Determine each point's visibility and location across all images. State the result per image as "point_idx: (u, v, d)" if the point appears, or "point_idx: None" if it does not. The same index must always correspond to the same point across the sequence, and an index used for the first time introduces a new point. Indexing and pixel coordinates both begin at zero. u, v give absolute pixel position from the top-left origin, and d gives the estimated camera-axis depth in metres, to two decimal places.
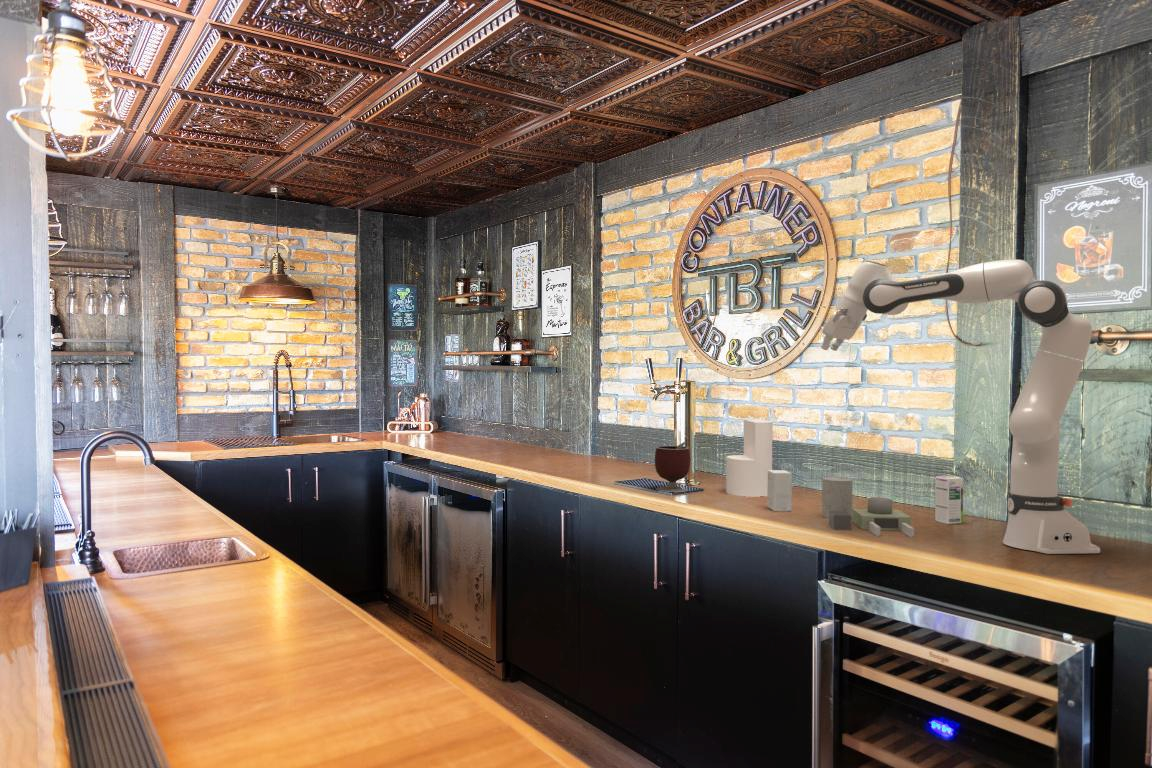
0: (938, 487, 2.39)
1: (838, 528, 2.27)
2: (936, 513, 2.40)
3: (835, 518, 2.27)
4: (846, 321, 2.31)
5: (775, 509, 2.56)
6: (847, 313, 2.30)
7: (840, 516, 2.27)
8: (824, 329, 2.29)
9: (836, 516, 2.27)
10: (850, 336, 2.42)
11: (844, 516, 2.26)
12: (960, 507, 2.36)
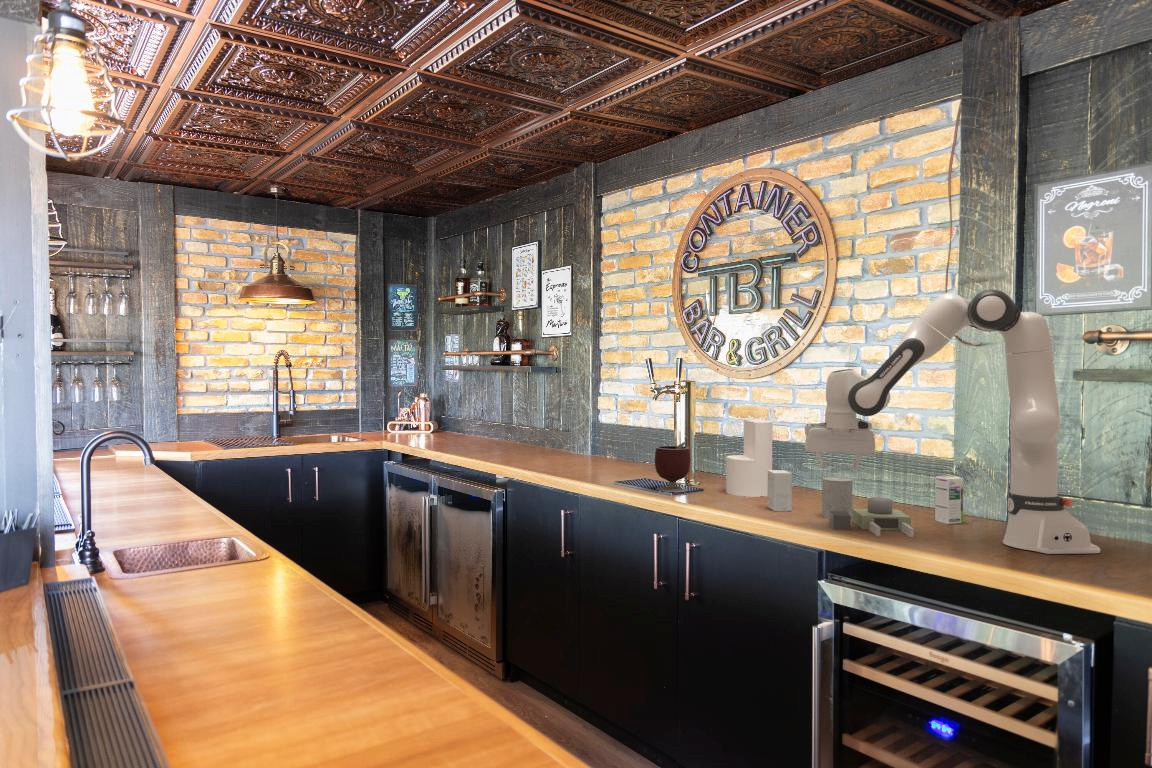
0: (938, 487, 2.39)
1: (838, 528, 2.27)
2: (936, 513, 2.40)
3: (835, 518, 2.27)
4: (827, 433, 2.28)
5: (775, 509, 2.56)
6: (826, 425, 2.29)
7: (840, 516, 2.27)
8: (805, 446, 2.32)
9: (836, 516, 2.27)
10: (867, 449, 2.27)
11: (844, 516, 2.26)
12: (960, 507, 2.36)
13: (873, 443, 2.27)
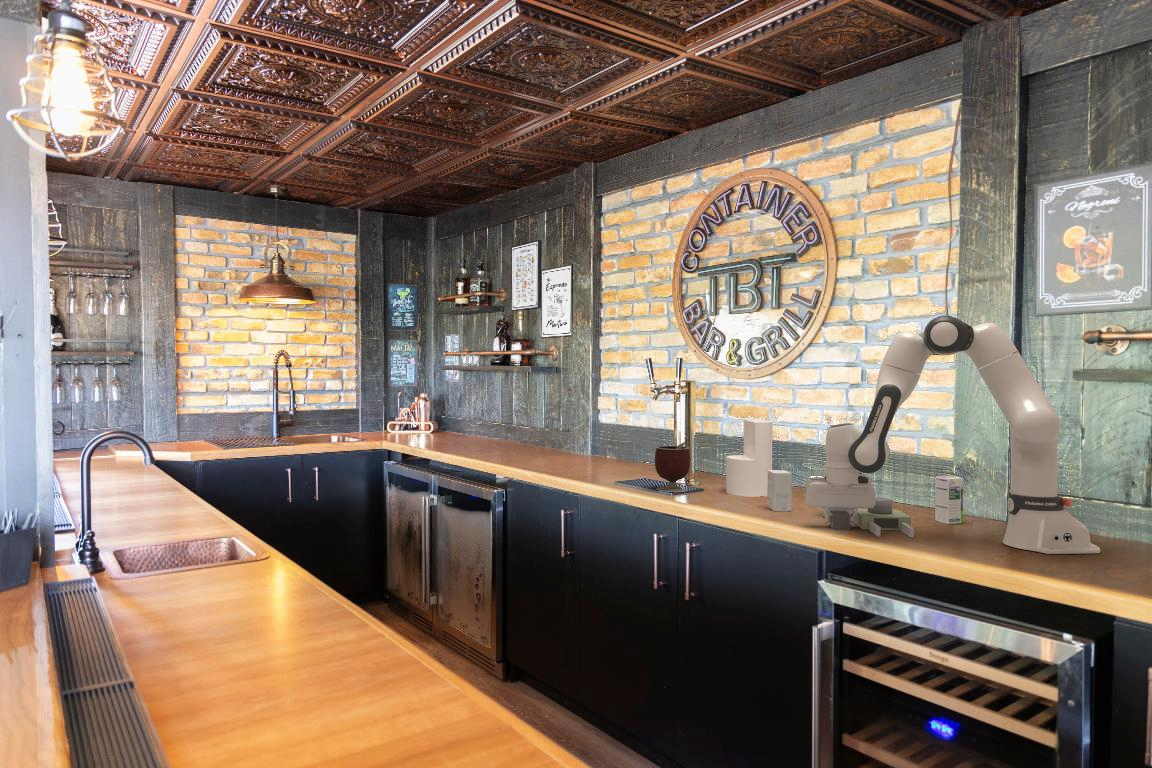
0: (938, 487, 2.39)
1: (837, 527, 2.27)
2: (936, 513, 2.40)
3: (834, 517, 2.27)
4: (827, 487, 2.29)
5: (775, 509, 2.56)
6: (826, 479, 2.29)
7: (839, 515, 2.27)
8: (805, 500, 2.32)
9: (835, 515, 2.27)
10: (868, 504, 2.27)
11: (843, 515, 2.26)
12: (960, 507, 2.36)
13: (873, 497, 2.27)
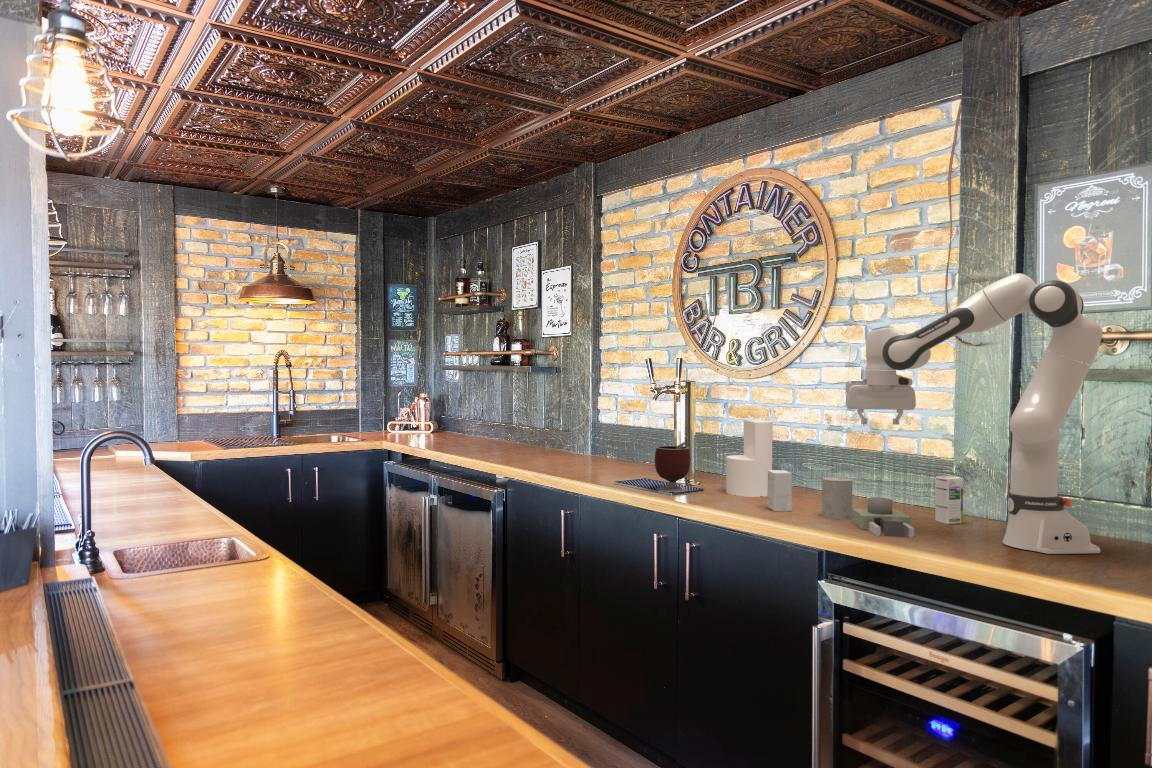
0: (938, 487, 2.39)
1: (889, 534, 2.18)
2: (936, 513, 2.40)
3: (886, 524, 2.18)
4: (868, 390, 2.32)
5: (775, 509, 2.56)
6: (866, 382, 2.33)
7: (891, 522, 2.18)
8: None
9: (887, 522, 2.18)
10: (908, 405, 2.31)
11: (895, 522, 2.18)
12: (960, 507, 2.36)
13: (914, 399, 2.30)
